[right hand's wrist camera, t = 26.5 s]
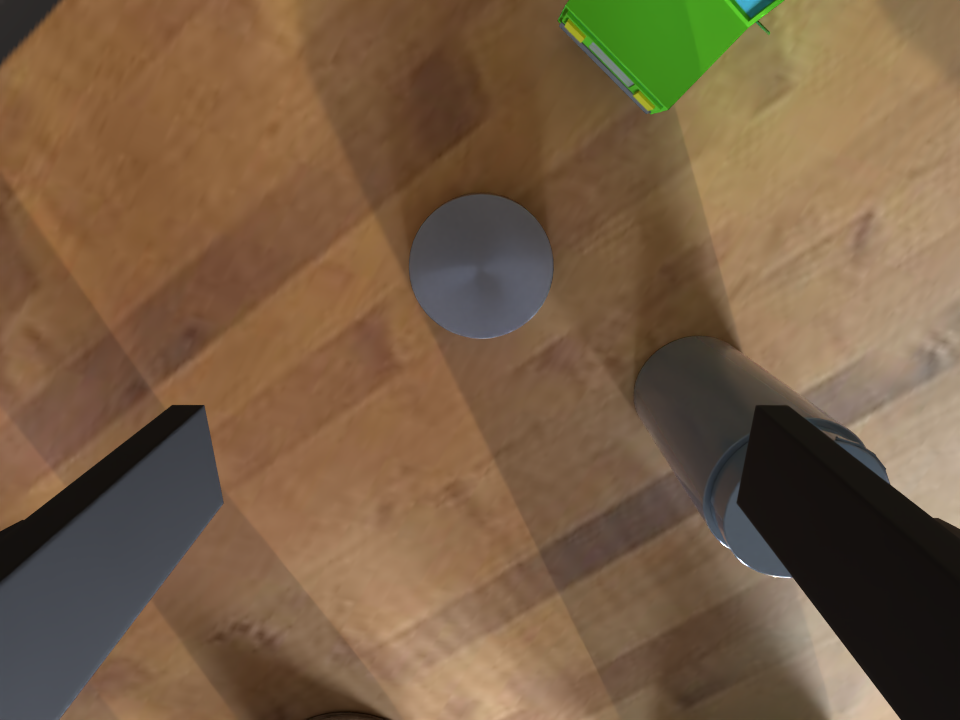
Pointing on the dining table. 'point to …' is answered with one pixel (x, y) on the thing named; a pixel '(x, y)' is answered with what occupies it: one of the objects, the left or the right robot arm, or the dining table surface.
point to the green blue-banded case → (658, 41)
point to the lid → (481, 265)
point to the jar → (722, 432)
